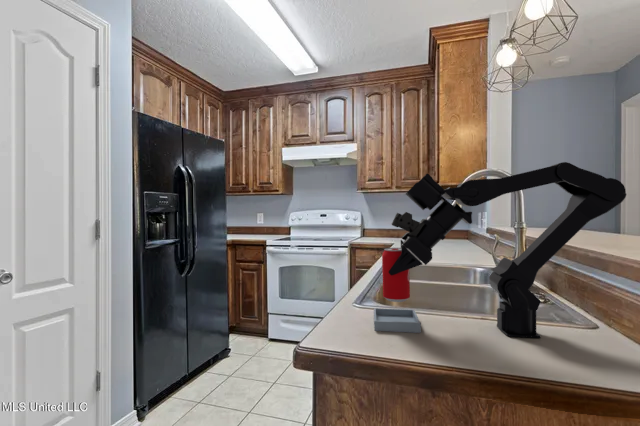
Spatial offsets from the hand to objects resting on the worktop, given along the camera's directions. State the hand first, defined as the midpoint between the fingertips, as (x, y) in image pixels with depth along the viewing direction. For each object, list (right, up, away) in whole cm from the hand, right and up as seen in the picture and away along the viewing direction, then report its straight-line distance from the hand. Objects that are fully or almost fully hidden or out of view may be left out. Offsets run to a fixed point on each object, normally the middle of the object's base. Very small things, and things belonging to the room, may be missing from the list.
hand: (389, 271), depth 77 cm
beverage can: (+1, -7, 0) cm, 7 cm away
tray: (+1, -12, 0) cm, 13 cm away
